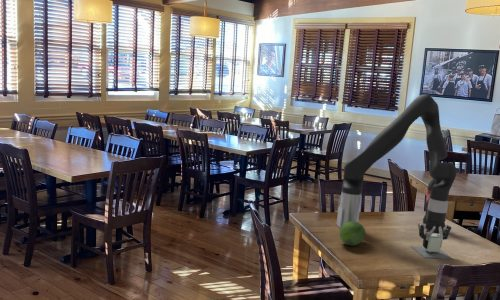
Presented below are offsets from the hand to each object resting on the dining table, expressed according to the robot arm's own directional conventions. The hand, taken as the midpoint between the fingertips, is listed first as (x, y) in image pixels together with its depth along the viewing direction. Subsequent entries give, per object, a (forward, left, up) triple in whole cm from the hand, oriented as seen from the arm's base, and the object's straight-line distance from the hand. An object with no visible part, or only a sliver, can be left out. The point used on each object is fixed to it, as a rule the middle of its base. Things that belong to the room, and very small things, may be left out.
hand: (431, 248), depth 203 cm
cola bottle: (+18, +35, -2) cm, 39 cm away
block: (0, 0, -1) cm, 1 cm away
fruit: (-32, +8, -2) cm, 33 cm away
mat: (0, 0, -2) cm, 2 cm away
